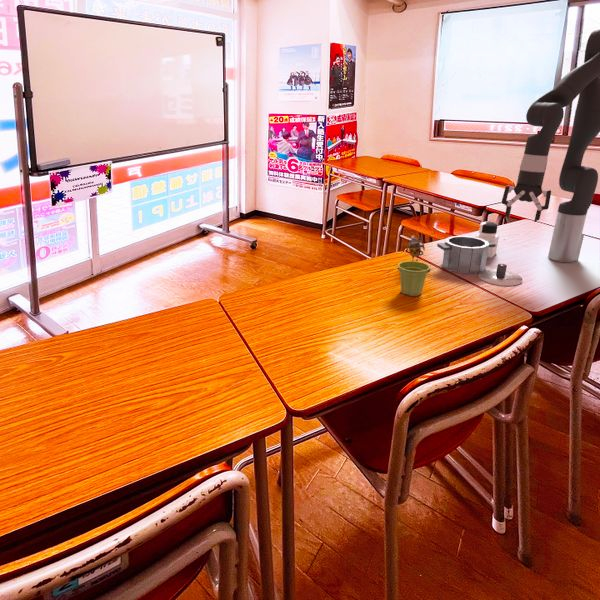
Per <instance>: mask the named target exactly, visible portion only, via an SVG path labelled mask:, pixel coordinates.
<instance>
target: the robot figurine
mask: <svg viewBox="0 0 600 600" xmlns="http://www.w3.org/2000/svg"><path fill="white" fill-rule="evenodd" d="M421 240H422V238H421V237H418V238H417V237H415V235H412V236H411V239H407V243H409V245H407V246H406V249H405V250H404V252H406V253H407V252H409V253H410V256H411V258H412V259H411V261H415V260H414V258H415V257H416V262H419V259H418V258H419V256H420V257H421V256H423V255H424V251H425V250H426V249H425V244H424V243H422V244H421V242H420V241H421ZM421 249H422V250H421ZM430 271H431V268H430V269H429V270H428V272H427V273H429V272H430Z"/></svg>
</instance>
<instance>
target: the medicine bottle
mask: <svg viewBox="0 0 600 600" xmlns="http://www.w3.org/2000/svg"><path fill="white" fill-rule="evenodd" d="M497 231H498V224H497V223H495V222H493V221H483V222H480V224H479V230H478V233H477V235H475V236H474V237H476V238H480V239H483V240H489V241H491V242H493V243H495V244H496V246H495V247H488V253H487V258H490V259H492V258H493V257H494V256H495V255H496V254H497V250H498V245H499V244H498V243H499V239H500V236H499V235H498V234H497V233H498V232H497Z"/></svg>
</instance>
